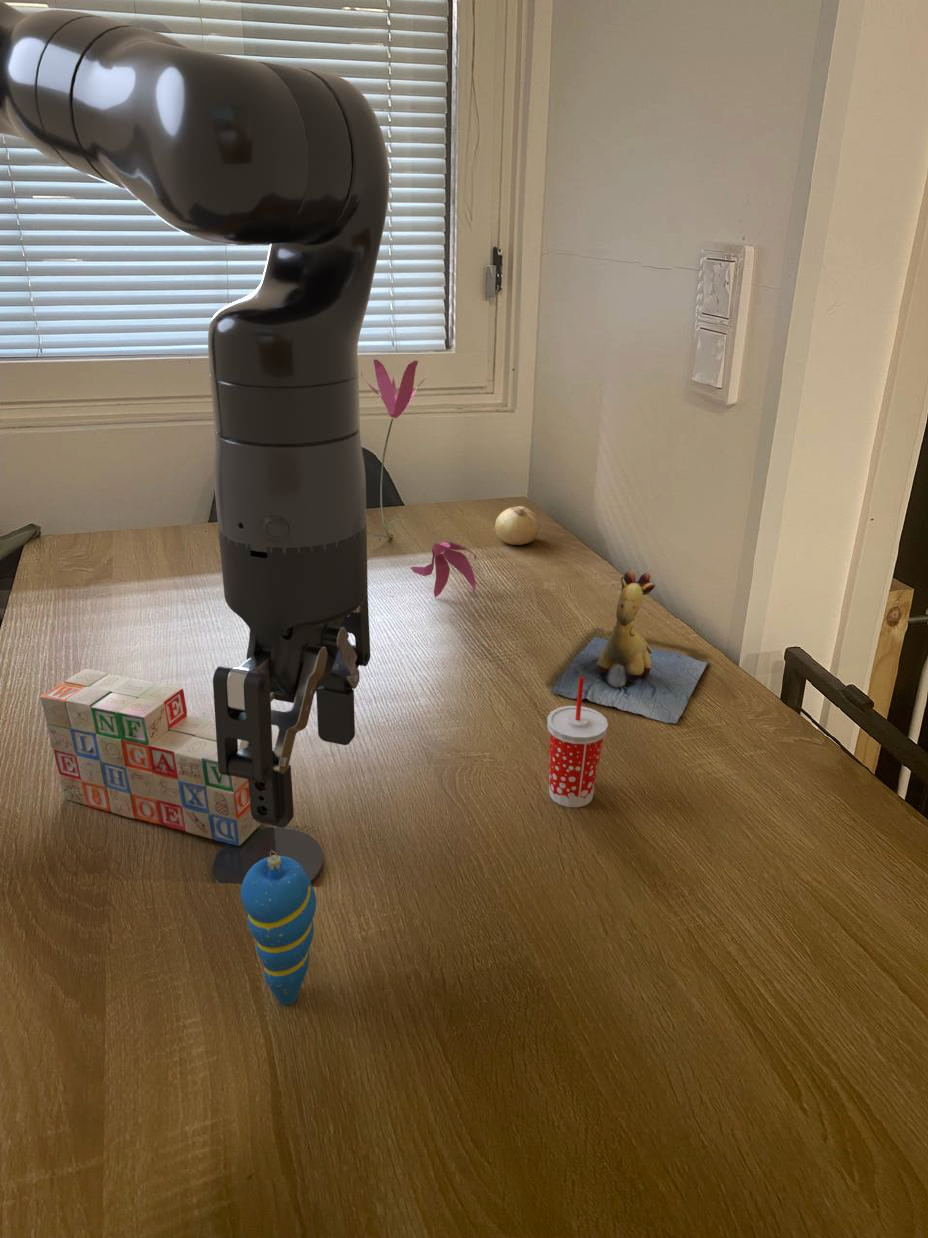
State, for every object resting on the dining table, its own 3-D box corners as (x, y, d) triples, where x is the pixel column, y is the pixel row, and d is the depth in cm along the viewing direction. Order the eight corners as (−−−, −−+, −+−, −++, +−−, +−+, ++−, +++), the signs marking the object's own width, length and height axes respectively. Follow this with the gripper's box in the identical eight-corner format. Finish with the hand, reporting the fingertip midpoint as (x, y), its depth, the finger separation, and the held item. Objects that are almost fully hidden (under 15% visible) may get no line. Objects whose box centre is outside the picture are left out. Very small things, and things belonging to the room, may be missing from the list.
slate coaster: (199, 902, 80) (198, 896, 80) (229, 829, 89) (228, 824, 89) (312, 906, 80) (312, 901, 79) (331, 833, 89) (331, 828, 88)
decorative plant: (344, 706, 155) (275, 646, 127) (270, 516, 172) (195, 427, 145) (542, 609, 154) (515, 528, 126) (448, 428, 171) (406, 322, 144)
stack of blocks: (276, 811, 91) (264, 703, 86) (240, 849, 85) (225, 736, 80) (104, 767, 98) (84, 665, 93) (61, 799, 92) (38, 693, 87)
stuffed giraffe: (550, 692, 114) (565, 575, 108) (594, 640, 130) (610, 534, 123) (675, 728, 109) (699, 606, 102) (706, 669, 124) (729, 560, 117)
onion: (485, 540, 165) (486, 502, 162) (515, 531, 170) (517, 494, 166) (516, 552, 159) (518, 514, 156) (547, 542, 164) (550, 505, 161)
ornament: (288, 1048, 66) (275, 888, 60) (238, 1015, 69) (220, 859, 63) (334, 1001, 70) (327, 846, 64) (285, 972, 73) (273, 820, 67)
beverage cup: (590, 775, 99) (601, 661, 93) (607, 809, 93) (621, 690, 87) (535, 779, 98) (543, 664, 92) (550, 814, 92) (559, 694, 86)
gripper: (289, 472, 54) (302, 708, 61) (147, 553, 41) (183, 839, 48) (409, 486, 52) (408, 728, 59) (297, 576, 39) (313, 869, 46)
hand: (307, 778), depth 54 cm, fingers open, 8 cm apart
